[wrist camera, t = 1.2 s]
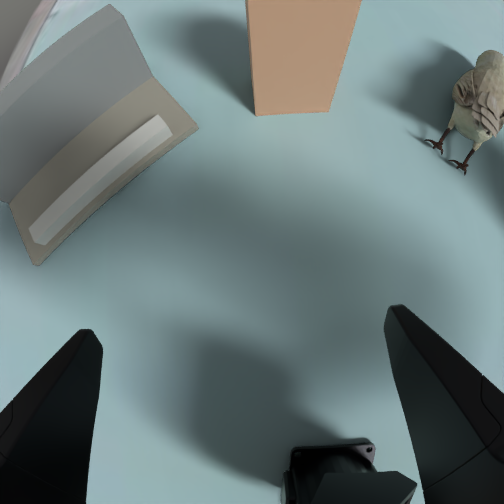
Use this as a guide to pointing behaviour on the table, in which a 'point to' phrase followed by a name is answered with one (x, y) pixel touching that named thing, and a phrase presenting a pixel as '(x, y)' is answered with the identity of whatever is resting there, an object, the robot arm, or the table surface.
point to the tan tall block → (297, 52)
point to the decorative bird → (478, 103)
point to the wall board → (81, 129)
